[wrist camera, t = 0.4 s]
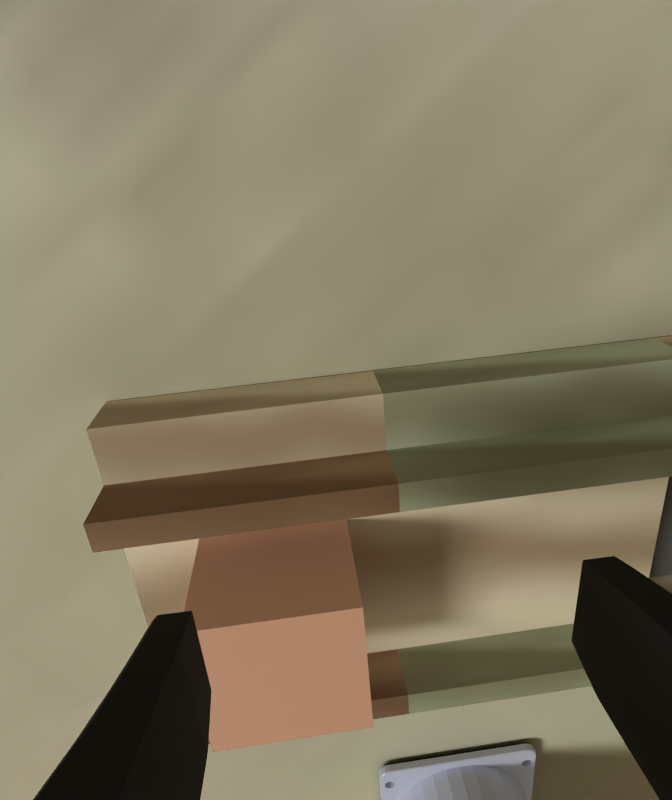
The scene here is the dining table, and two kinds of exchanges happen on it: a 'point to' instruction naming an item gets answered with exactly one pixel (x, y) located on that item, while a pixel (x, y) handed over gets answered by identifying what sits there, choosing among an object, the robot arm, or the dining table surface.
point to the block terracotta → (281, 634)
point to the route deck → (416, 501)
